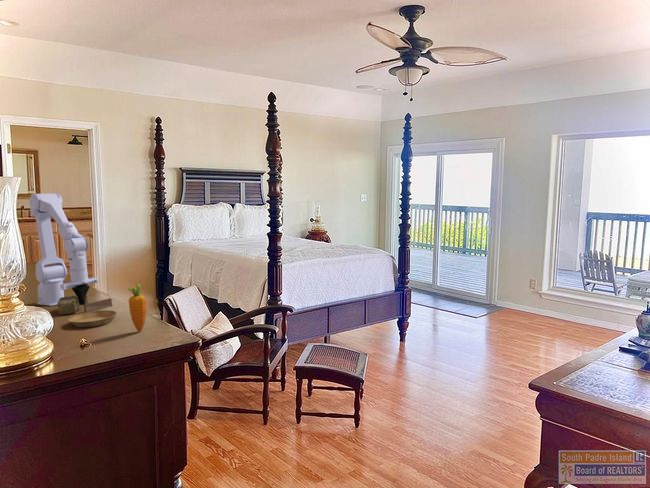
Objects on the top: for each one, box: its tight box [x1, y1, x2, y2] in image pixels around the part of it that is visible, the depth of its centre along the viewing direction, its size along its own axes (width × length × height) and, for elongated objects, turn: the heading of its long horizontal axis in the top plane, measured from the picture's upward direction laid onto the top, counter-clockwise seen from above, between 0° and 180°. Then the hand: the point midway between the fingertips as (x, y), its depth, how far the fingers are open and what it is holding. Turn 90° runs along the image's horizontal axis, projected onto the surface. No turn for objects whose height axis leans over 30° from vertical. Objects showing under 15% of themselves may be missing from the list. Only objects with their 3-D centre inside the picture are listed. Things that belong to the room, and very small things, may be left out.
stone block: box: [57, 295, 79, 315], centre depth 176 cm, size 6×12×5 cm, turn 25°
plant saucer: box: [67, 309, 118, 328], centre depth 160 cm, size 15×15×3 cm
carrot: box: [127, 282, 147, 333], centre depth 146 cm, size 5×5×15 cm
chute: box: [77, 295, 113, 313], centre depth 182 cm, size 15×11×3 cm
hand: (82, 304), depth 180 cm, fingers closed
